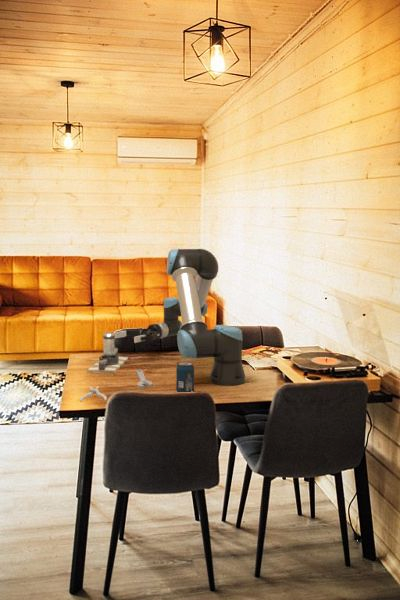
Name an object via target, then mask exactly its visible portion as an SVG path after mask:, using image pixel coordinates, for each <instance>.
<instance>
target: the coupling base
mask: <svg viewBox="0 0 400 600" xmlns="http://www.w3.org/2000/svg"><path fill="white" fill-rule="evenodd" d="M118 351H119V349H118V347H114V353H115V358H111V359H104V355H100V356H99V359H98V360H97V362H95V363H94V364H92V365H91V366H90V367H89V368H88V369H87V371H86V372H87V373H91V372H93V373H94V374H112V375H113V374H115V373H117V371H119V369H120V368H121V367H122V366H123V365H125V363H126V362H128V360H129V359H130V358H129V356H119V352H118ZM93 373H92V374H93Z"/></svg>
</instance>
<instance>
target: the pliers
mask: <svg viewBox="0 0 400 600" xmlns="http://www.w3.org/2000/svg"><path fill="white" fill-rule="evenodd" d="M99 389H100V388H99V386H97V385H96V387H95V388H93V387H92V386H89V392H88V393H84V394H83V395H81V397H80V398H79V402H80V403H81V402H83V400H84V399H85V398H90V397H93V394H94V396H95V397H98V398H103V399H104V402H105V401H107V399H108V398H107V395H105V394H104V393H101V392H100V390H99Z"/></svg>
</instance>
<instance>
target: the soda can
mask: <svg viewBox="0 0 400 600" xmlns="http://www.w3.org/2000/svg"><path fill="white" fill-rule="evenodd" d="M175 374H176V375H175V376H176V379H175V381H176V384H175V390H176V392H177V393H178V392H191V391H193V392H194V391H195V367H194V364H193V362H191V361H179V362H178V363H177V366H176V373H175Z"/></svg>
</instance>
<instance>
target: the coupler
mask: <svg viewBox="0 0 400 600" xmlns="http://www.w3.org/2000/svg"><path fill="white" fill-rule="evenodd" d="M102 339H103V341H102V342H103V355H104V359H111V358H115V353H114V349H115V339H116V338H115V332H110V331H108V332H103V334H102Z"/></svg>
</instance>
